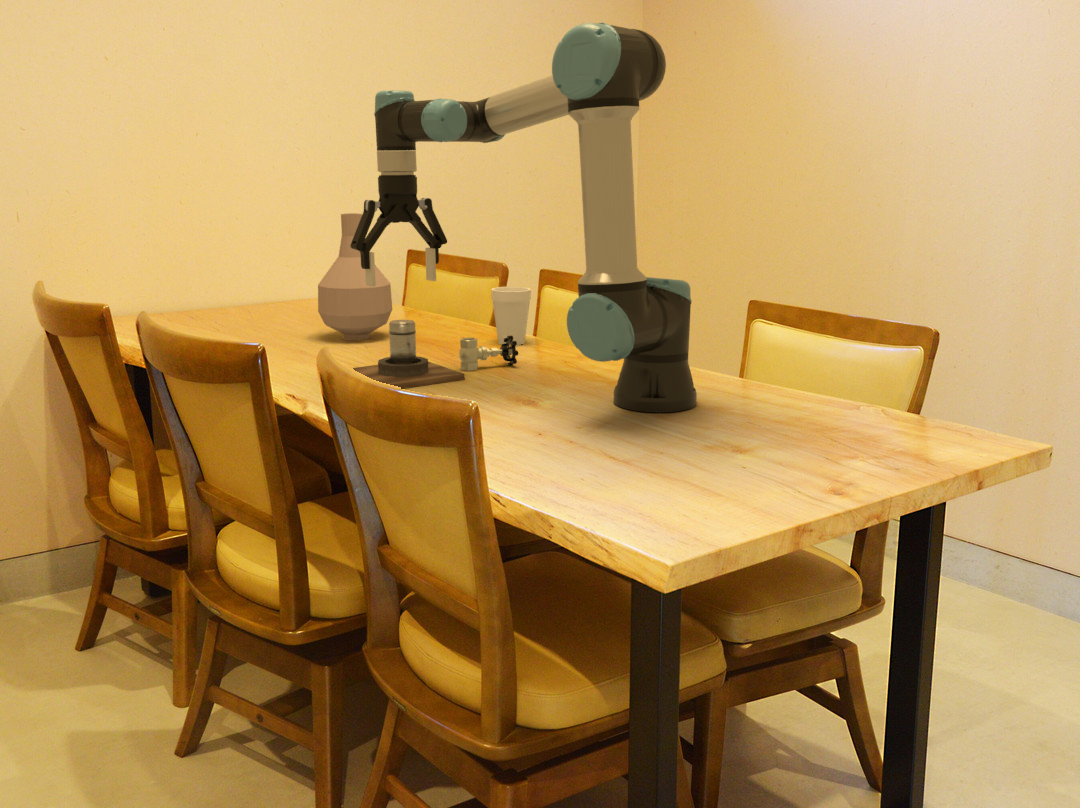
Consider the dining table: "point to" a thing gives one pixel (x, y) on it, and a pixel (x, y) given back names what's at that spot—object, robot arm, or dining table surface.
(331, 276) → the vase
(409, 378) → the ring block
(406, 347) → the cylinder
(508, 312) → the foam cup
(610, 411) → the dining table surface
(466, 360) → the valve
